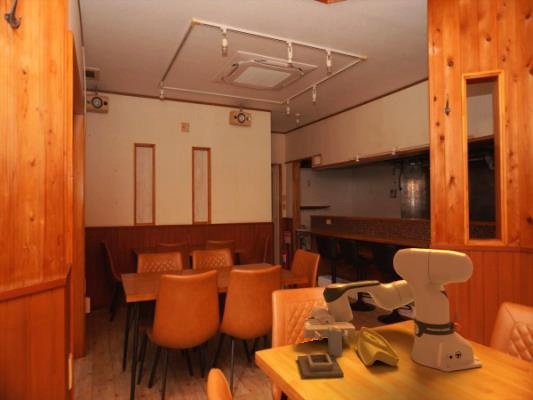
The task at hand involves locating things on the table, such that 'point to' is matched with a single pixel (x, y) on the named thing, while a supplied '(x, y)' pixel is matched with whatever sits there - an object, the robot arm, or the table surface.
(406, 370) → the table surface
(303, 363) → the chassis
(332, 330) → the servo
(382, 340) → the plastic component
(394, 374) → the table surface
